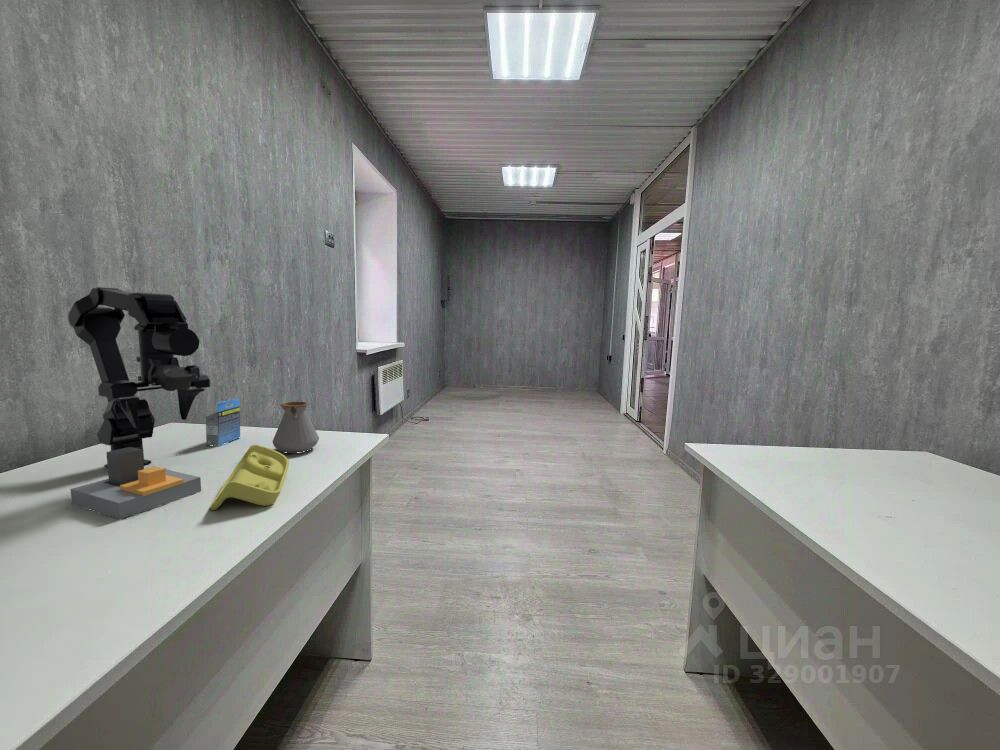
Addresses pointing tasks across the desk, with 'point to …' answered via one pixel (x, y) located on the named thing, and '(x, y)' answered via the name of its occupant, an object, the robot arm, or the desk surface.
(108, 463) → the grey box
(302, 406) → the coffee pot
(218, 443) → the label tape box
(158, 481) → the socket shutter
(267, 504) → the plastic component
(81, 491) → the socket board
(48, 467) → the desk surface
